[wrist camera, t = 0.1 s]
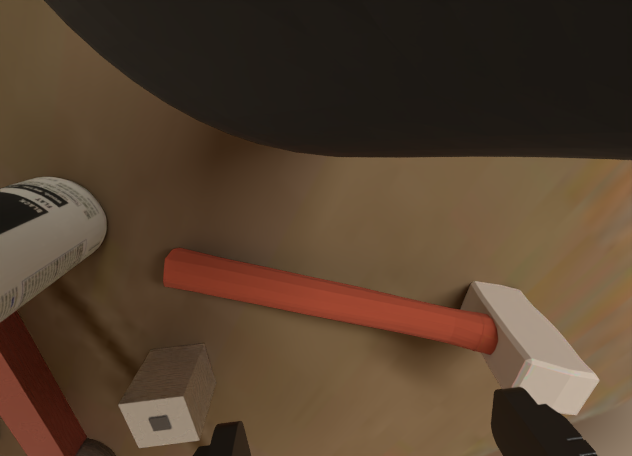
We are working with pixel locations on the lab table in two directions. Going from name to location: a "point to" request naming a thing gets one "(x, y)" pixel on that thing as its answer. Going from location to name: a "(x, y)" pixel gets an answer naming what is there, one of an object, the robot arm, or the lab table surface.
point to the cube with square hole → (169, 396)
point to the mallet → (412, 320)
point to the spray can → (44, 236)
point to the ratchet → (37, 400)
